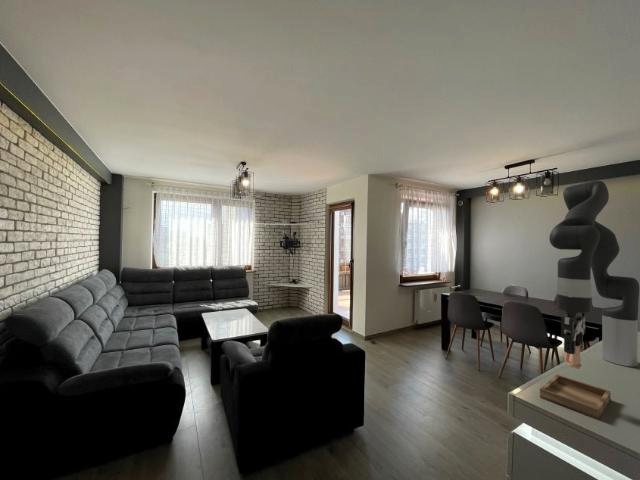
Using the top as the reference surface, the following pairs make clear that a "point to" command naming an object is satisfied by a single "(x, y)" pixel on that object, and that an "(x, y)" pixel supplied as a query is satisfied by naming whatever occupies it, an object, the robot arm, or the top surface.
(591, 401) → the walnut tray
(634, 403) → the top surface
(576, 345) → the grandmother figurine
